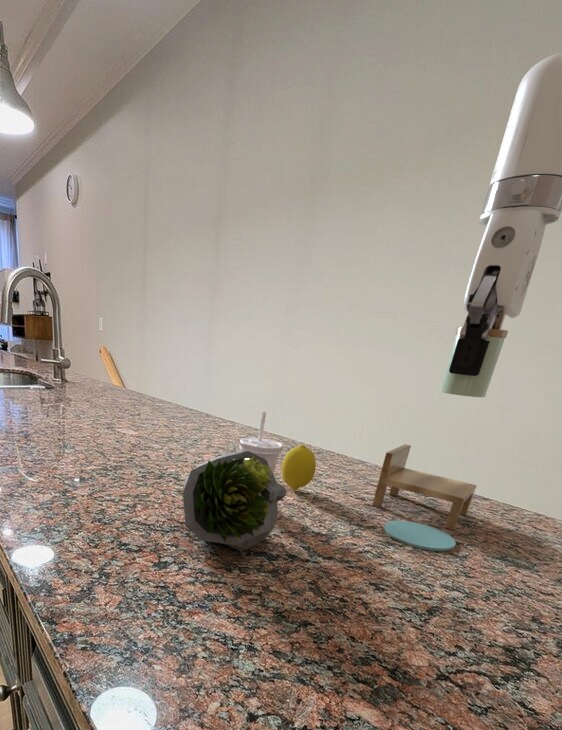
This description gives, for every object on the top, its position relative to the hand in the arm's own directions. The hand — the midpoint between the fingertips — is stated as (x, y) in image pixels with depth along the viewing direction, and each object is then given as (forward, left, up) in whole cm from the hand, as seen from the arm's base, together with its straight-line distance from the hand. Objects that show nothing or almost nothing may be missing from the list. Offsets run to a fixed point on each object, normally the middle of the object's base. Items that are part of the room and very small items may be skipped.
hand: (468, 372), depth 57 cm
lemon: (+20, 0, -22) cm, 30 cm away
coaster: (-1, +3, -22) cm, 22 cm away
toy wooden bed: (+2, -9, -22) cm, 24 cm away
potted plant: (+15, +26, -22) cm, 37 cm away
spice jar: (0, 0, -3) cm, 3 cm away
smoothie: (+21, +12, -22) cm, 33 cm away
